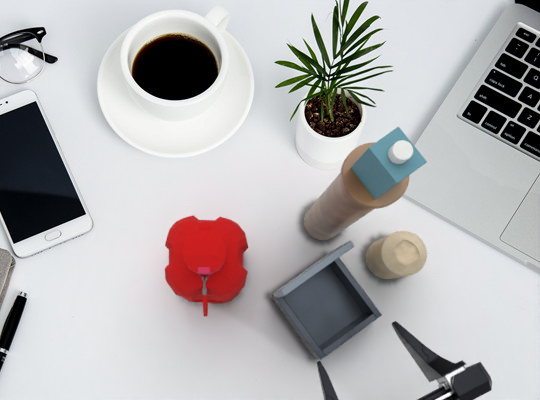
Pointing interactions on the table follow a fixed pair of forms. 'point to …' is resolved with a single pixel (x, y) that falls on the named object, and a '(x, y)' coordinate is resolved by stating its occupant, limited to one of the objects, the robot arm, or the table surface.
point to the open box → (328, 309)
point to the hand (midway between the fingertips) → (355, 341)
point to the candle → (396, 255)
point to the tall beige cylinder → (347, 200)
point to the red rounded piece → (206, 260)
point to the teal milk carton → (387, 162)
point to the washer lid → (313, 269)
